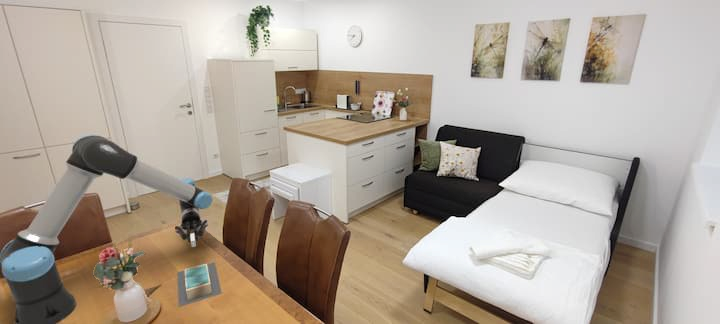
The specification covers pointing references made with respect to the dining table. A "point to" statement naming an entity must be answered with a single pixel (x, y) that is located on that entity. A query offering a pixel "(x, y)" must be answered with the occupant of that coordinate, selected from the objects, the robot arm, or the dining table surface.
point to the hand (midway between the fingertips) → (193, 243)
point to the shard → (151, 290)
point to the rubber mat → (215, 291)
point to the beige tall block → (197, 281)
